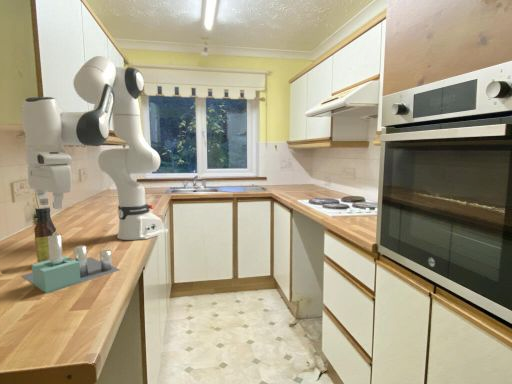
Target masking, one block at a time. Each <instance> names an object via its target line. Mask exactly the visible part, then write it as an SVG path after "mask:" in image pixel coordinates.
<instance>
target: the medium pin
mask: <svg viewBox="0 0 512 384" xmlns="http://www.w3.org/2000/svg"><path fill="white" fill-rule="evenodd" d="M73 252H74V253H73V254H74V260H76V261H78V262H79V266H80V278H82V277H86V276H88V263H87V258H88V254H87V253H88V252H87V245H84V244H83V245H78V246H74V247H73Z"/></svg>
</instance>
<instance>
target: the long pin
mask: <svg viewBox="0 0 512 384" xmlns="http://www.w3.org/2000/svg"><path fill="white" fill-rule="evenodd" d="M62 238H63V237H62V234H58V233H57V234H54V235H49V236H48V244H49V259H50V267H53V266H57V265H61V264H63V256H64V255H63V243H62V241H63V240H62Z"/></svg>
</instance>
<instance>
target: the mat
mask: <svg viewBox="0 0 512 384" xmlns="http://www.w3.org/2000/svg"><path fill="white" fill-rule="evenodd" d="M87 263H88V276H86V277H82V278H81V282H79V283H76V284H73V285H70V286H66V287H63V288H60V289H57V290H54V291H51V292H48V293H47V294H49V293H53V292H56V291H59V290H63V289H66V288H69V287H71V286H75V285H77V284H78V285H79V284H81V283H84V282H85V283H86V282H88V281H90V280H94V279H96V278H100V277H103V276H106V275H109V274H113V273H115V272H118V271H121V269H120V268H117V267H114V266H113V265H112V269H111V270H109V271H101V263H100V260H98V259H96V258H93V257H87ZM21 278H23V279H24V280H26V281H27V282H29V283H31V284H32V285H33V286H35V285H34V283H33V274H32V272H31V273H26V274H24V275H21ZM35 287H36V288H38V287H37V286H35Z"/></svg>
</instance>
